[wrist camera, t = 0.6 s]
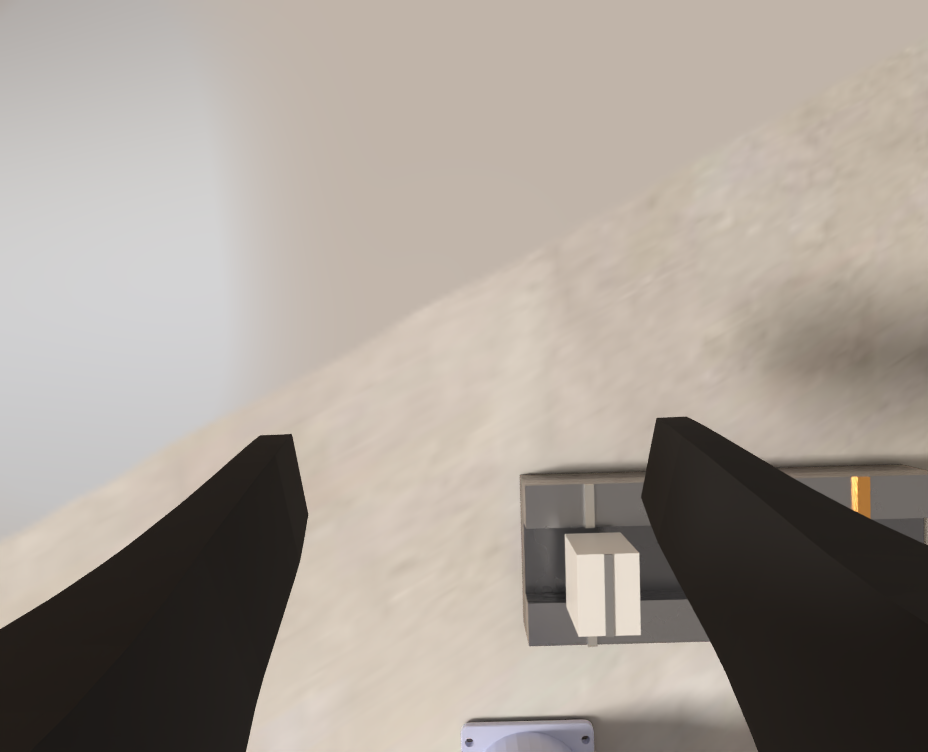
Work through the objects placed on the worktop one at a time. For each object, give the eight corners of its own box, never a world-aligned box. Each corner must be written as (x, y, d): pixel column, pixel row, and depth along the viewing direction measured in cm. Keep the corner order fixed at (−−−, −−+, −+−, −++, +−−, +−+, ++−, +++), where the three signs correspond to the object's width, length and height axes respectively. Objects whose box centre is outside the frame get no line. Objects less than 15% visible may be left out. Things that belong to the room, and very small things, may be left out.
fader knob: (613, 592, 29) (641, 636, 25) (560, 593, 29) (579, 637, 25) (611, 523, 29) (640, 553, 24) (559, 524, 29) (577, 555, 25)
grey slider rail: (901, 611, 31) (946, 637, 28) (523, 621, 31) (529, 648, 28) (901, 464, 31) (946, 475, 28) (519, 474, 31) (525, 486, 28)
